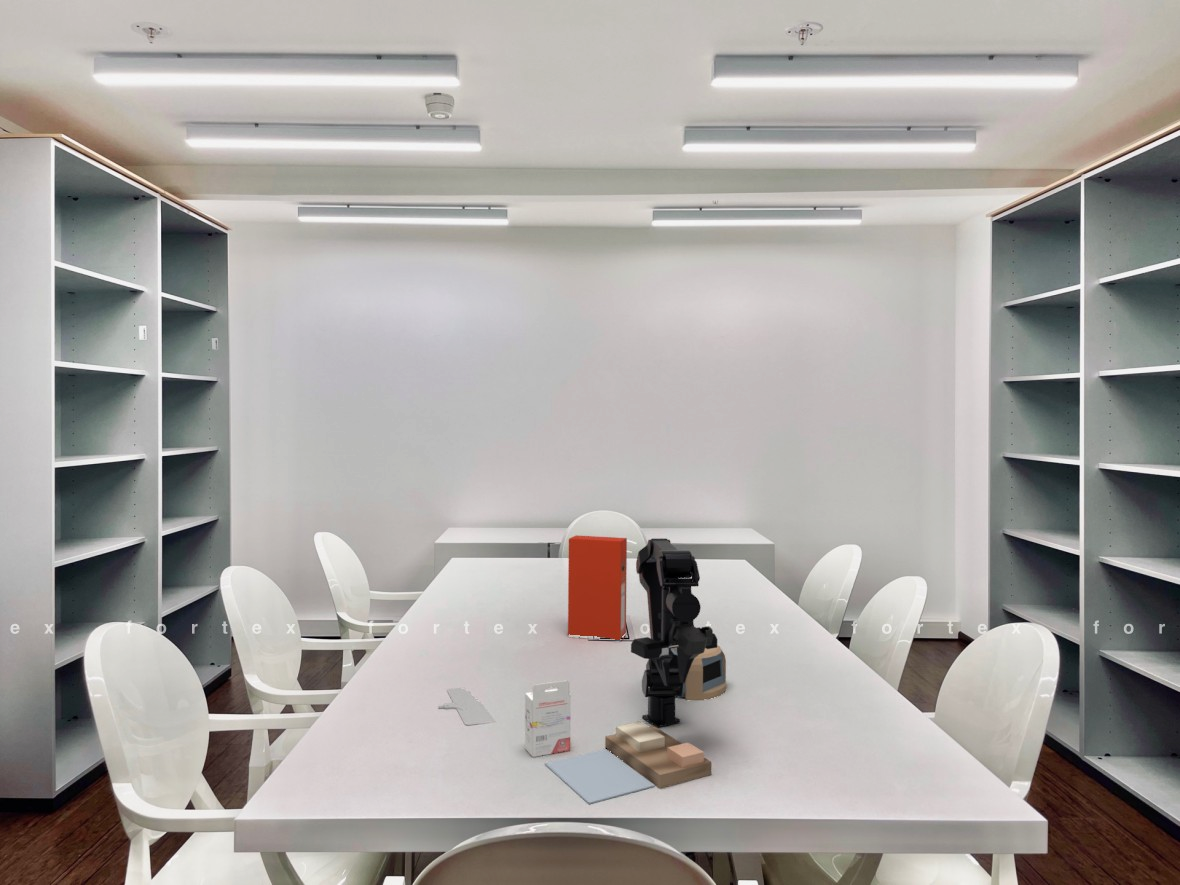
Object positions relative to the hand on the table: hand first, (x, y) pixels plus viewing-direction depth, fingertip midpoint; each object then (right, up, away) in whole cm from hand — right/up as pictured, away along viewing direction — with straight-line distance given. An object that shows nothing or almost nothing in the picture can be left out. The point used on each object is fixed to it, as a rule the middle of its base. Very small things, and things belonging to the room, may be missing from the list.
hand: (674, 684), depth 157 cm
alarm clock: (+7, -13, +37) cm, 40 cm away
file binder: (-16, -12, +84) cm, 86 cm away
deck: (-4, -13, -7) cm, 16 cm away
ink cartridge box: (-27, -13, -3) cm, 30 cm away
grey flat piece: (-43, -13, +24) cm, 51 cm away
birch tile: (-8, -11, -4) cm, 14 cm away
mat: (-16, -13, -14) cm, 25 cm away
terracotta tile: (+1, -11, -13) cm, 17 cm away
